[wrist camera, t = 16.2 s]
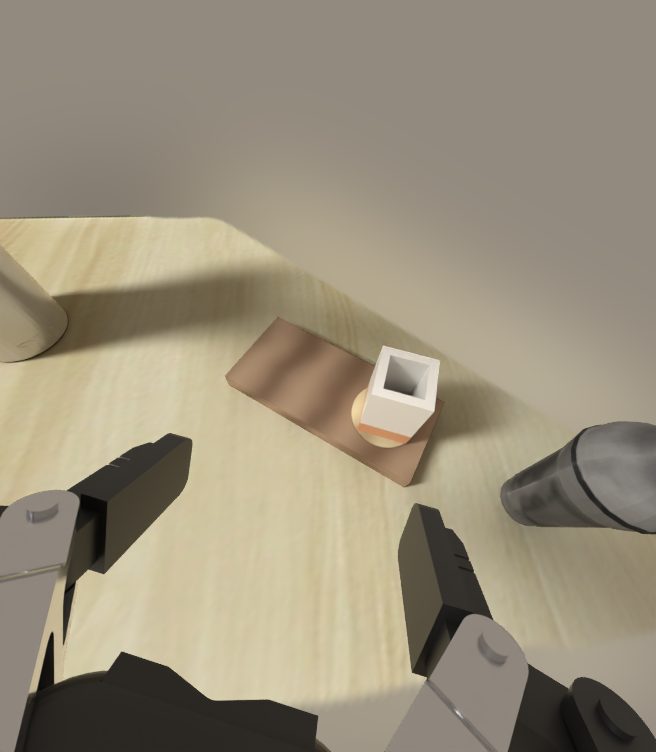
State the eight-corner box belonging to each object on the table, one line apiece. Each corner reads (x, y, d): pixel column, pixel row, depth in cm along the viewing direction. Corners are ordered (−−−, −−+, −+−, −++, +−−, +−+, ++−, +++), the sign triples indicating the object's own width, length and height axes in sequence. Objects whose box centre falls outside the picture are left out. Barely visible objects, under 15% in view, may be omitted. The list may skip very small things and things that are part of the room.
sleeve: (405, 444, 31) (434, 411, 24) (356, 430, 31) (371, 394, 24) (411, 400, 33) (439, 360, 26) (366, 388, 34) (383, 345, 27)
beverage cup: (509, 450, 34) (725, 339, 16) (572, 503, 31) (903, 439, 14) (472, 498, 31) (687, 424, 14) (538, 560, 28) (900, 567, 11)
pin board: (228, 384, 35) (213, 350, 30) (278, 327, 40) (274, 288, 34) (404, 487, 31) (427, 471, 25) (437, 409, 36) (463, 380, 30)
